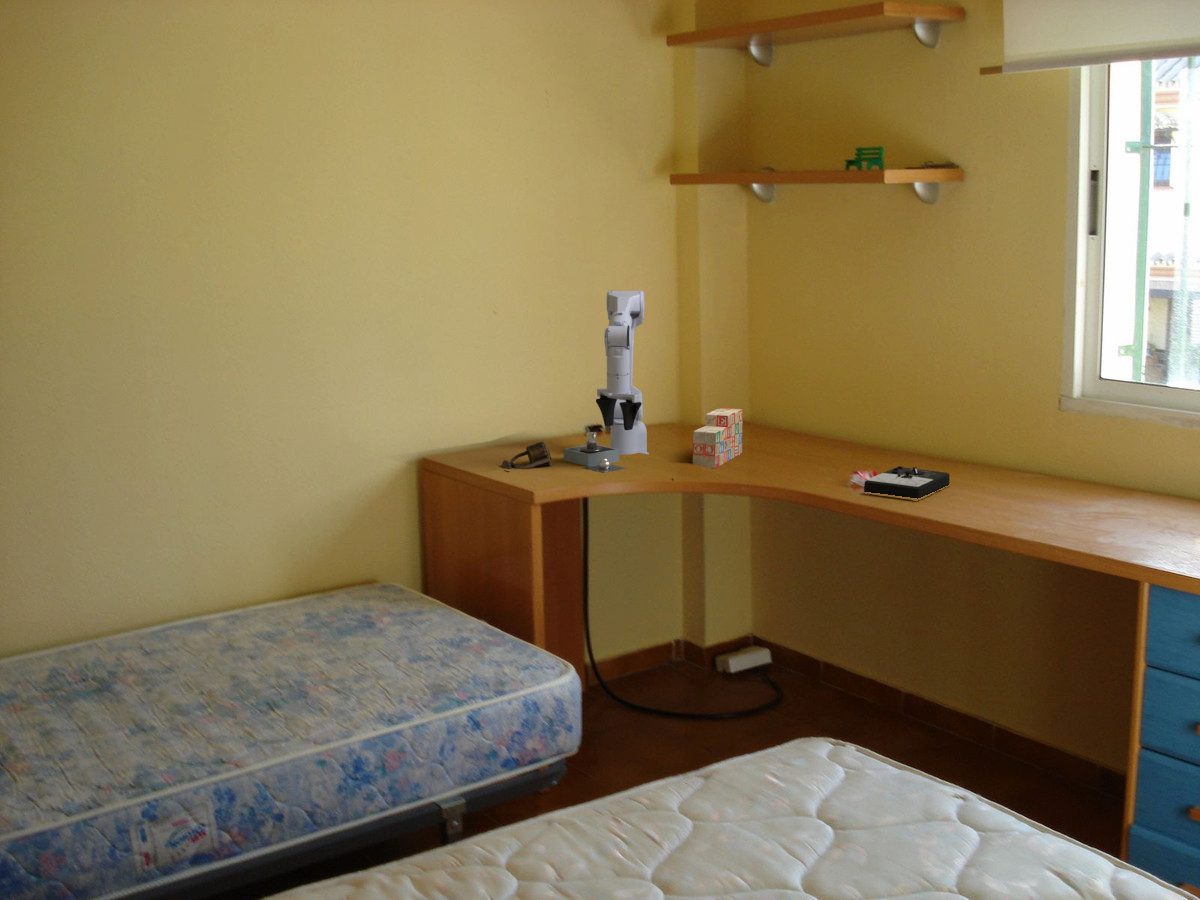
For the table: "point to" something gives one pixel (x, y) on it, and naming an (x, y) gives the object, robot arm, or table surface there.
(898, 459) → the table surface
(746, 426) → the table surface
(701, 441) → the stack of blocks
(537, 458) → the dark brown handled cylinder
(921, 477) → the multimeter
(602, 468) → the stud mount
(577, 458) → the bin
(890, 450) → the table surface
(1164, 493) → the table surface
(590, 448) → the dark grey stepped cylinder
